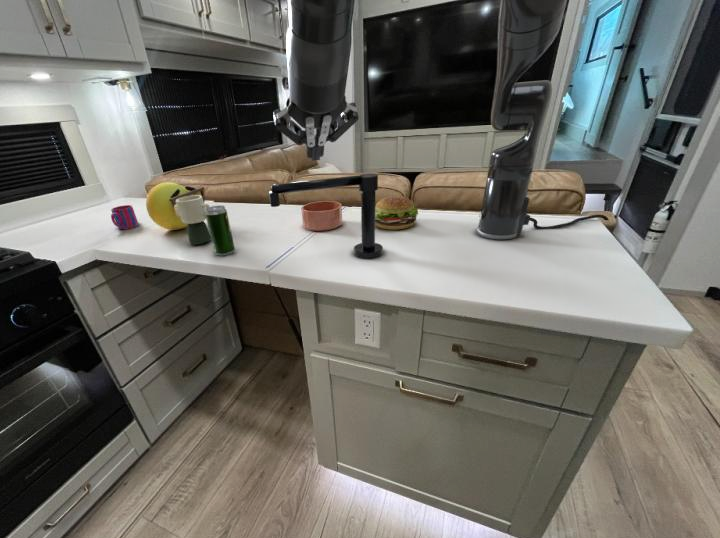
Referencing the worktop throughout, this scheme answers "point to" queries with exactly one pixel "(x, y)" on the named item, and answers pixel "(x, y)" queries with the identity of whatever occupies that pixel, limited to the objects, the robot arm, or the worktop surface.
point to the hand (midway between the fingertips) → (314, 156)
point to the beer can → (220, 230)
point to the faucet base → (368, 229)
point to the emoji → (168, 204)
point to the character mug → (193, 217)
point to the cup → (124, 217)
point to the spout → (324, 185)
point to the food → (395, 213)
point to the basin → (322, 215)
